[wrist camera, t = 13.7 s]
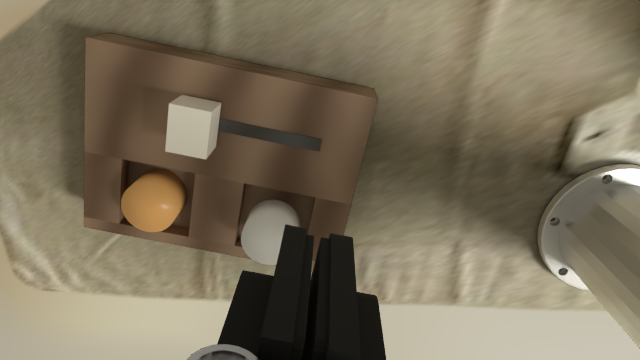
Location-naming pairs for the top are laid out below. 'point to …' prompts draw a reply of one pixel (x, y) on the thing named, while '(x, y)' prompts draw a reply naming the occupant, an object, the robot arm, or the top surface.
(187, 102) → the slider knob
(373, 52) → the top surface
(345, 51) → the top surface
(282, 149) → the control panel
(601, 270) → the robot arm
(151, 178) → the orange button
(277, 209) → the grey button
